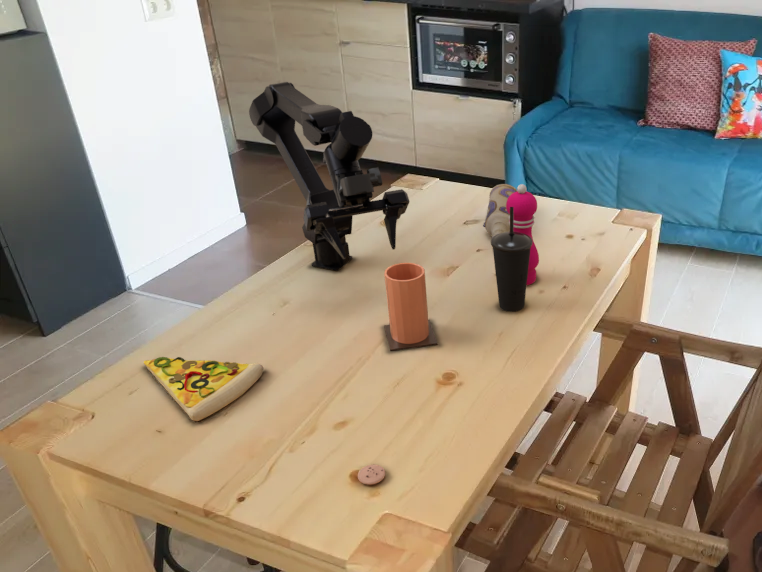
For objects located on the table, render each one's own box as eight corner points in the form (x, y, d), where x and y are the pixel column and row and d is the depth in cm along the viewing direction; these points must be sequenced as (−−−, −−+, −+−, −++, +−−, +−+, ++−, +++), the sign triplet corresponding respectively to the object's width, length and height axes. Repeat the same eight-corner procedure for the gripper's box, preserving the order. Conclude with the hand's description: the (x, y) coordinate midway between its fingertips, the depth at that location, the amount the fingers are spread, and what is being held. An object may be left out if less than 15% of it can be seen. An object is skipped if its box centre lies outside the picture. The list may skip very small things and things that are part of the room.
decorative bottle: (489, 208, 183) (488, 182, 179) (520, 209, 183) (520, 183, 179) (478, 255, 162) (478, 226, 158) (513, 256, 162) (514, 228, 158)
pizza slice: (203, 426, 115) (198, 410, 113) (108, 390, 122) (102, 375, 120) (272, 374, 126) (268, 359, 124) (181, 344, 133) (177, 330, 131)
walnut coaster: (390, 351, 132) (390, 349, 131) (384, 327, 138) (384, 325, 138) (437, 344, 133) (437, 342, 133) (429, 321, 140) (429, 319, 140)
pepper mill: (497, 283, 152) (496, 188, 140) (511, 268, 157) (511, 175, 146) (531, 290, 150) (533, 194, 138) (543, 274, 155) (546, 180, 143)
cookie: (388, 467, 107) (387, 461, 106) (382, 486, 104) (382, 481, 103) (361, 466, 107) (360, 460, 107) (355, 485, 104) (354, 480, 103)
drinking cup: (484, 309, 143) (482, 211, 132) (503, 292, 149) (502, 196, 137) (520, 319, 140) (521, 219, 129) (538, 301, 146) (540, 203, 134)
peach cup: (384, 339, 134) (377, 277, 127) (401, 321, 139) (395, 260, 132) (419, 346, 132) (413, 283, 125) (435, 327, 137) (431, 266, 130)
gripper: (296, 160, 126) (321, 246, 125) (401, 145, 133) (427, 227, 131) (293, 189, 137) (317, 269, 135) (392, 174, 143) (415, 250, 142)
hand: (369, 253), depth 136 cm, fingers open, 9 cm apart
